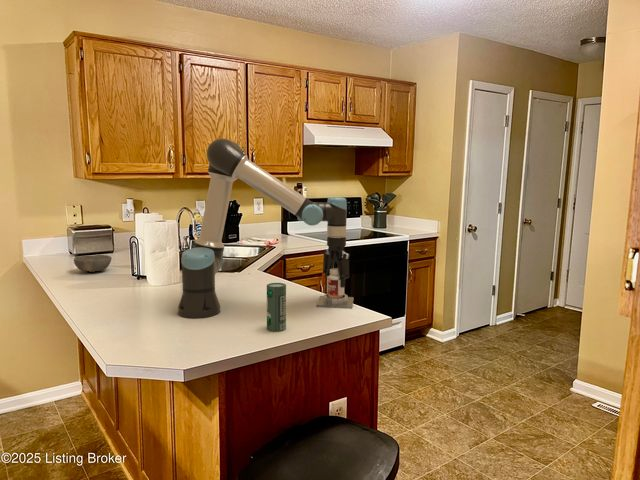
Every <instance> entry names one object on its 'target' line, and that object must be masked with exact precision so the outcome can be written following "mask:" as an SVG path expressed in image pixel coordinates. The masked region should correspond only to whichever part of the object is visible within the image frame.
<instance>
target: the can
mask: <svg viewBox="0 0 640 480" xmlns="http://www.w3.org/2000/svg"><path fill="white" fill-rule="evenodd" d="M286 329H287V284H286V283H283V282H270V283H268V284H266V330H268V331H269V332H273V333H275V332H277V333H279V332H282V331H285V330H286Z"/></svg>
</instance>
